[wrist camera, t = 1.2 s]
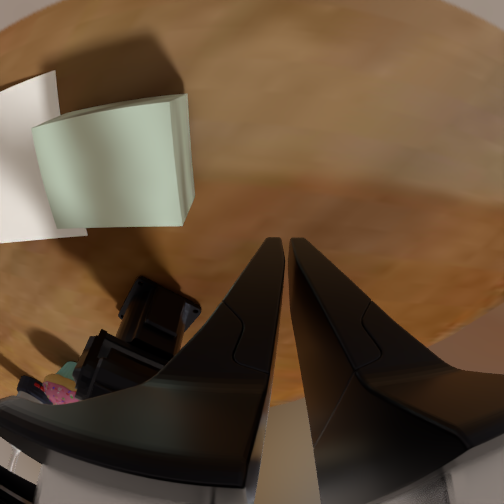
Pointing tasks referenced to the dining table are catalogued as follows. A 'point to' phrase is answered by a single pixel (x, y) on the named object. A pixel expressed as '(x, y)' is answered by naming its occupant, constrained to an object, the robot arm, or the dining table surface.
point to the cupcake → (61, 385)
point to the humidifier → (32, 392)
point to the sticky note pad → (118, 164)
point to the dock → (26, 162)
